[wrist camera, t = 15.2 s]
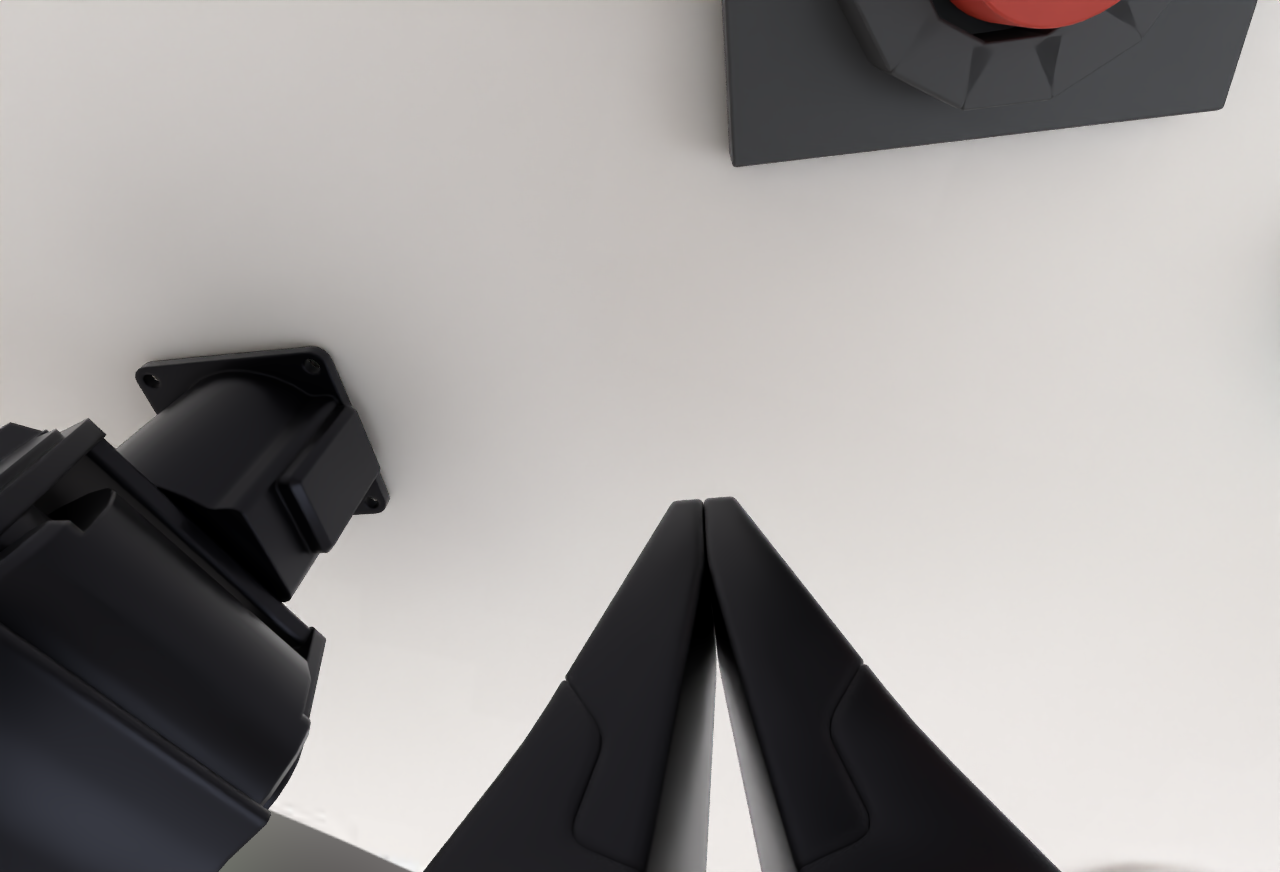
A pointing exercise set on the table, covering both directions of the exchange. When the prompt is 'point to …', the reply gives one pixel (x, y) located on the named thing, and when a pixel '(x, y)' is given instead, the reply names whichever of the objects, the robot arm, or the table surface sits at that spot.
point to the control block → (960, 72)
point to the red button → (1034, 11)
